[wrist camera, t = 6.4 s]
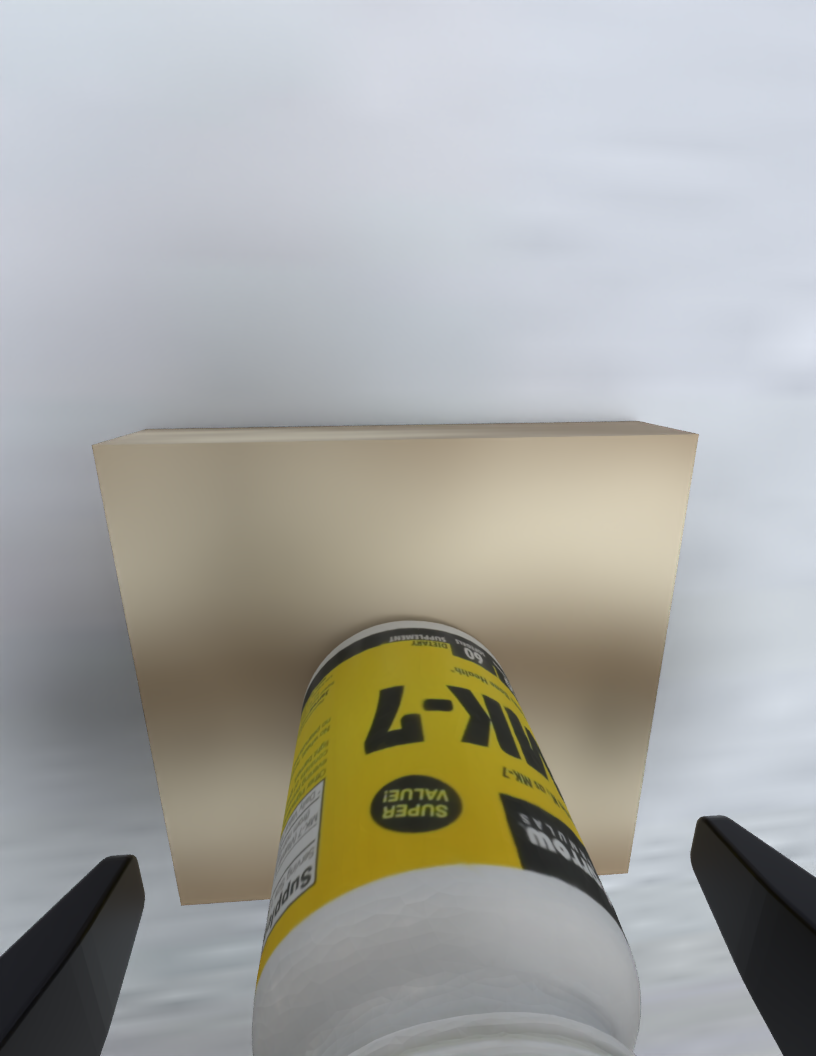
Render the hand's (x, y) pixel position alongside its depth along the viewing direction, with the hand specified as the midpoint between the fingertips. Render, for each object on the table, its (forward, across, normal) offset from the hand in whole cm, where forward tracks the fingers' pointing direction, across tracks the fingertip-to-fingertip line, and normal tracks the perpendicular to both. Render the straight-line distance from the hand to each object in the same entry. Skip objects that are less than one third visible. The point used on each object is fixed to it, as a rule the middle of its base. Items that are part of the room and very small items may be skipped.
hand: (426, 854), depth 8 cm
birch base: (+6, 0, 0) cm, 6 cm away
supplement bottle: (+4, 0, 0) cm, 4 cm away
